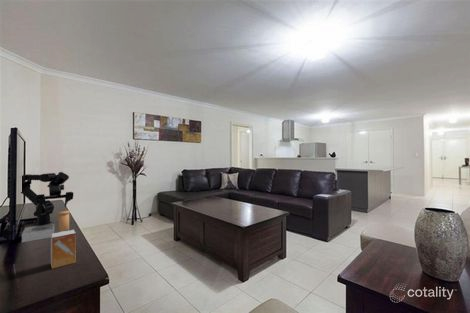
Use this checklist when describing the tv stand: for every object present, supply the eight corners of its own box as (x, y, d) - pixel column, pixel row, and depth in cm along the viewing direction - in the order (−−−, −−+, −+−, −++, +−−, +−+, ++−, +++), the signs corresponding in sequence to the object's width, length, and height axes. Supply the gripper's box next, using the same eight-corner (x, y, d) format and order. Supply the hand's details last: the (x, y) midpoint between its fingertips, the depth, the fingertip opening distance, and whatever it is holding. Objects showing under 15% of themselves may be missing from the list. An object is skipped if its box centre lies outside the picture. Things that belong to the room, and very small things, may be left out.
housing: (21, 242, 117) (21, 234, 117) (25, 235, 127) (25, 227, 127) (53, 236, 125) (53, 229, 125) (54, 230, 135) (54, 223, 135)
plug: (55, 234, 128) (55, 212, 128) (64, 231, 134) (64, 210, 134) (64, 235, 127) (64, 213, 127) (72, 231, 133) (72, 210, 133)
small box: (51, 269, 89) (51, 237, 89) (50, 263, 93) (50, 233, 93) (76, 262, 94) (76, 232, 94) (73, 257, 99) (73, 229, 99)
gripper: (36, 182, 136) (36, 202, 128) (73, 179, 148) (75, 198, 140) (35, 193, 141) (36, 213, 133) (71, 190, 154) (73, 208, 146)
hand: (56, 207), depth 138 cm, fingers open, 9 cm apart
